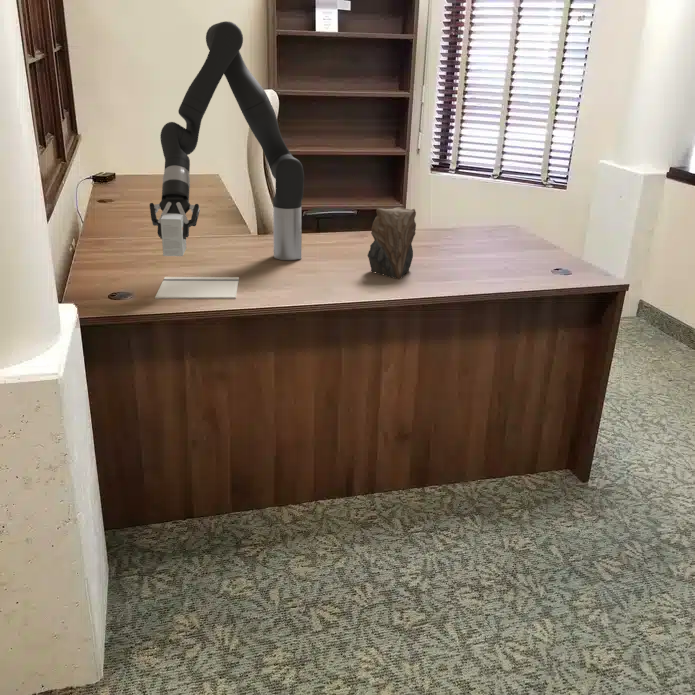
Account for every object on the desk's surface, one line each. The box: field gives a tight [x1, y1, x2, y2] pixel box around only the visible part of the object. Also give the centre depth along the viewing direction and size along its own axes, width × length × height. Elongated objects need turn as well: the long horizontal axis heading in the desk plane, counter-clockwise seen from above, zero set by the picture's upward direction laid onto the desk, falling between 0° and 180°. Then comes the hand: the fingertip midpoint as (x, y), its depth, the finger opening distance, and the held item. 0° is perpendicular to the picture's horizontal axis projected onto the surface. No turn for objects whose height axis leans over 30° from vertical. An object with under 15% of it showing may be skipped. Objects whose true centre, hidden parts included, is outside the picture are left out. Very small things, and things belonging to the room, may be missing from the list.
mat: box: [154, 276, 240, 300], centre depth 198 cm, size 22×18×1 cm
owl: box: [367, 206, 417, 280], centre depth 217 cm, size 13×13×20 cm
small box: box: [160, 213, 187, 257], centre depth 191 cm, size 8×6×10 cm
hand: (173, 237), depth 189 cm, fingers closed on small box, 5 cm apart
